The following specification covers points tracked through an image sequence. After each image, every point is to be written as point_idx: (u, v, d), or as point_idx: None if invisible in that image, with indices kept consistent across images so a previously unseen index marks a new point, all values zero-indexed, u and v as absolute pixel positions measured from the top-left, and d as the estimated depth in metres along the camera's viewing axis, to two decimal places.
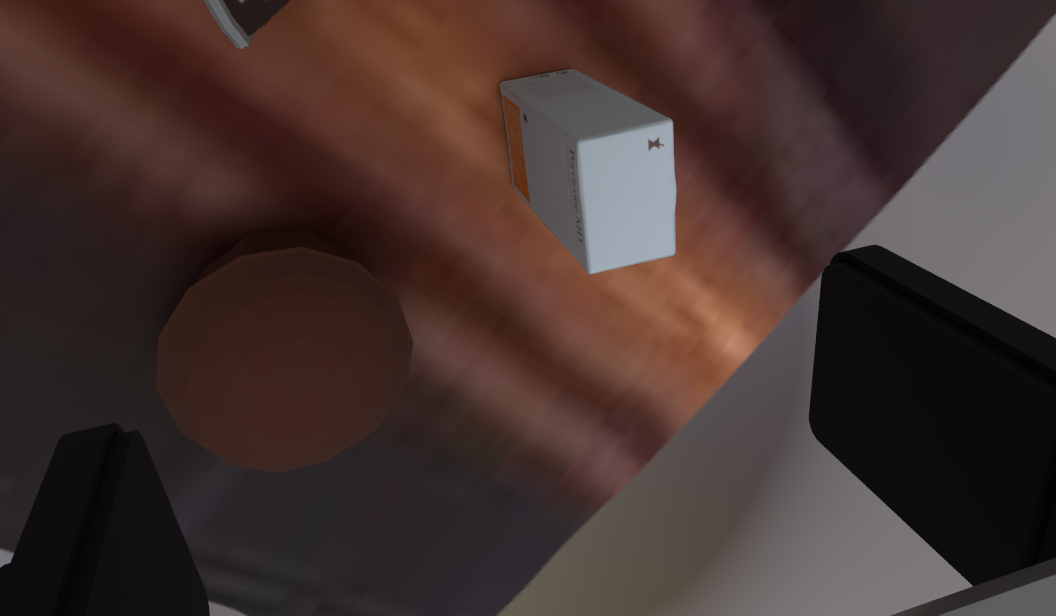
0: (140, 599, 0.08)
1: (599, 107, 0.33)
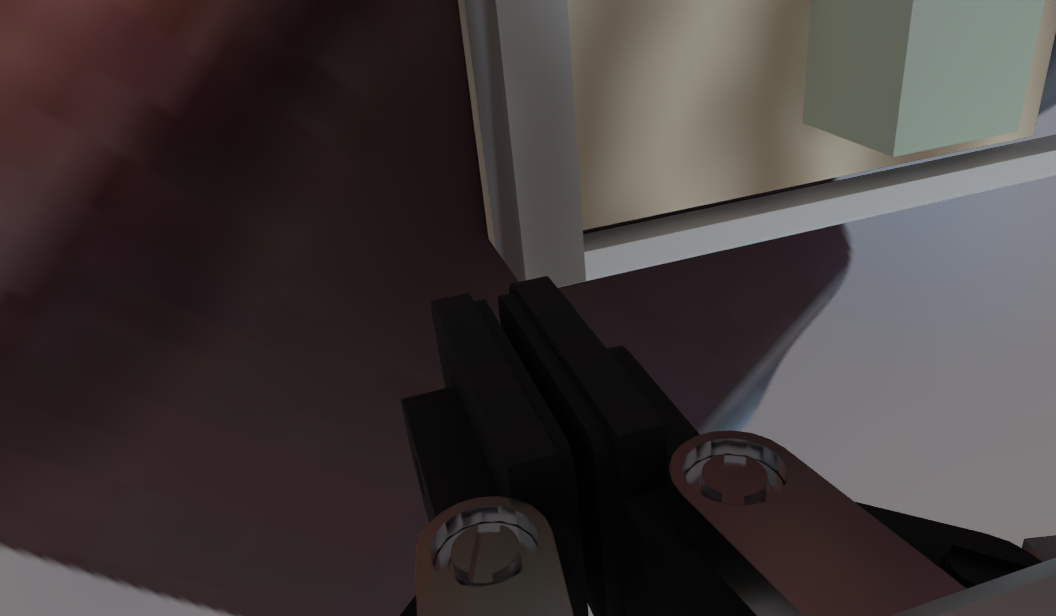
0: None
1: None
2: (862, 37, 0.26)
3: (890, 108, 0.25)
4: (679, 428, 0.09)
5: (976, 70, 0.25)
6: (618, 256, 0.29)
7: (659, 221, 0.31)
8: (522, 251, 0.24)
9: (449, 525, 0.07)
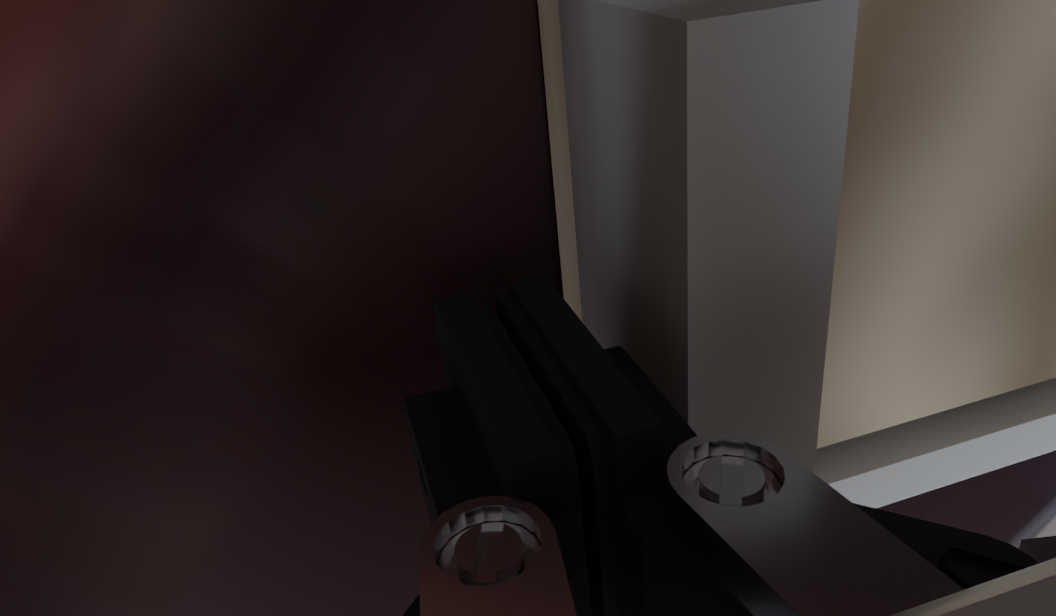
0: None
1: None
2: None
3: None
4: (676, 430, 0.09)
5: None
6: None
7: None
8: None
9: (452, 525, 0.07)
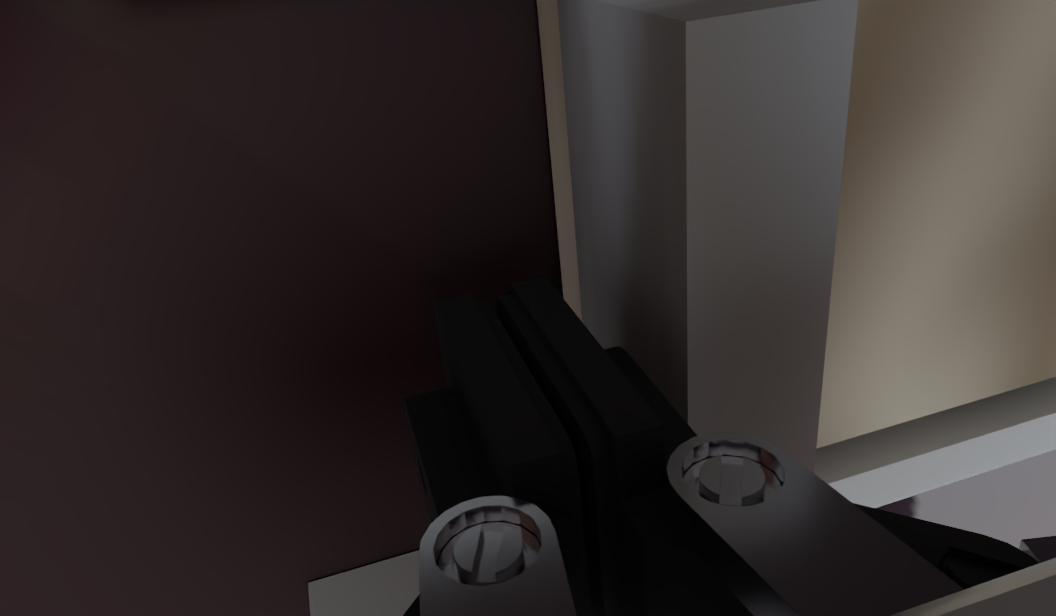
0: None
1: None
2: None
3: None
4: (677, 429, 0.09)
5: None
6: None
7: None
8: None
9: (452, 524, 0.07)
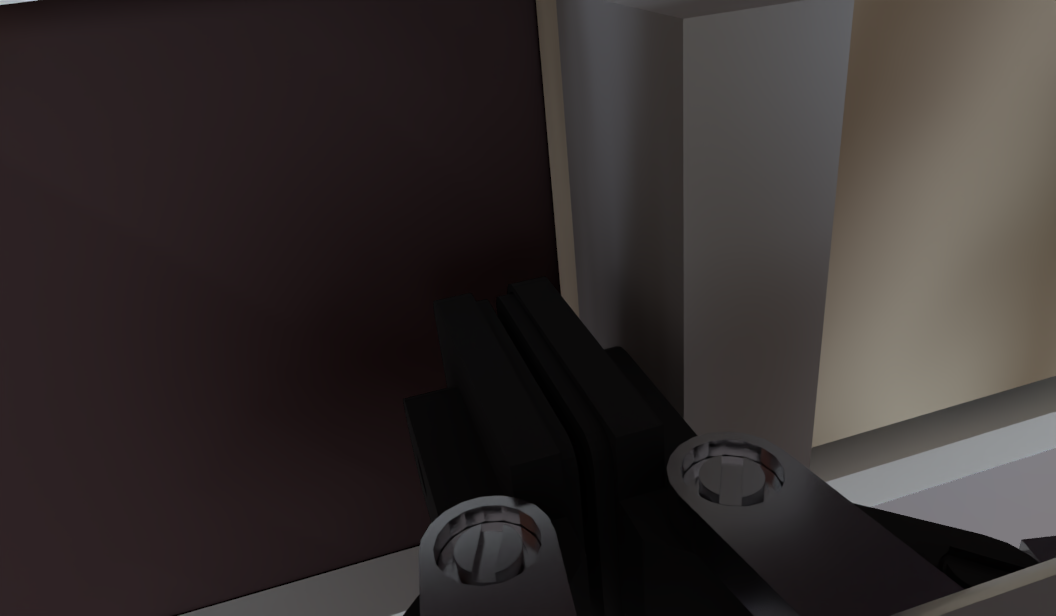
0: None
1: None
2: None
3: None
4: (676, 429, 0.09)
5: None
6: None
7: None
8: None
9: (452, 525, 0.07)
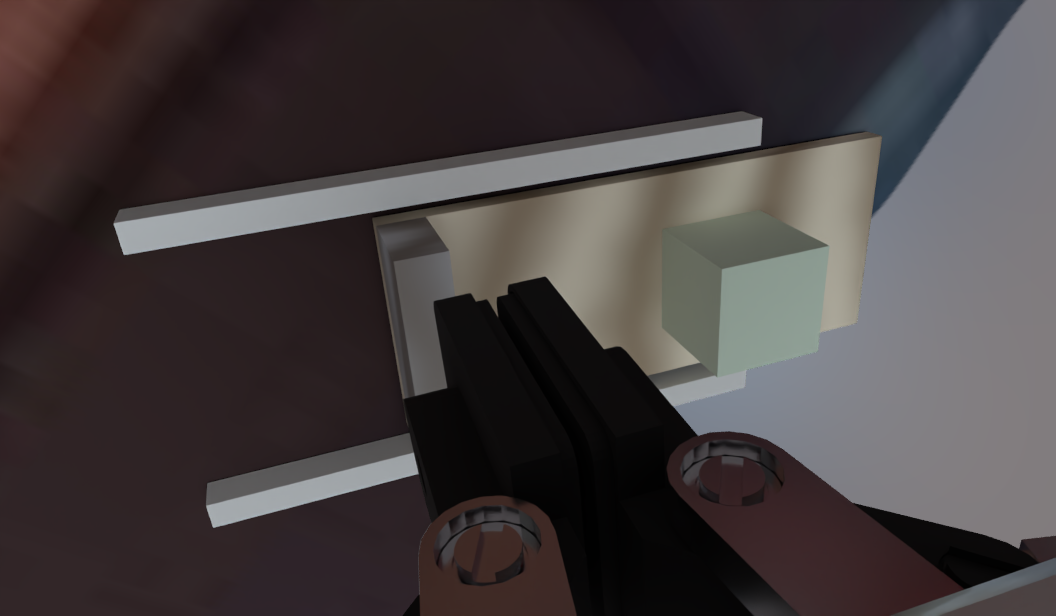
0: None
1: None
2: (694, 283, 0.33)
3: (713, 342, 0.32)
4: (676, 429, 0.09)
5: (778, 314, 0.32)
6: (296, 492, 0.34)
7: (344, 453, 0.35)
8: None
9: (452, 525, 0.07)
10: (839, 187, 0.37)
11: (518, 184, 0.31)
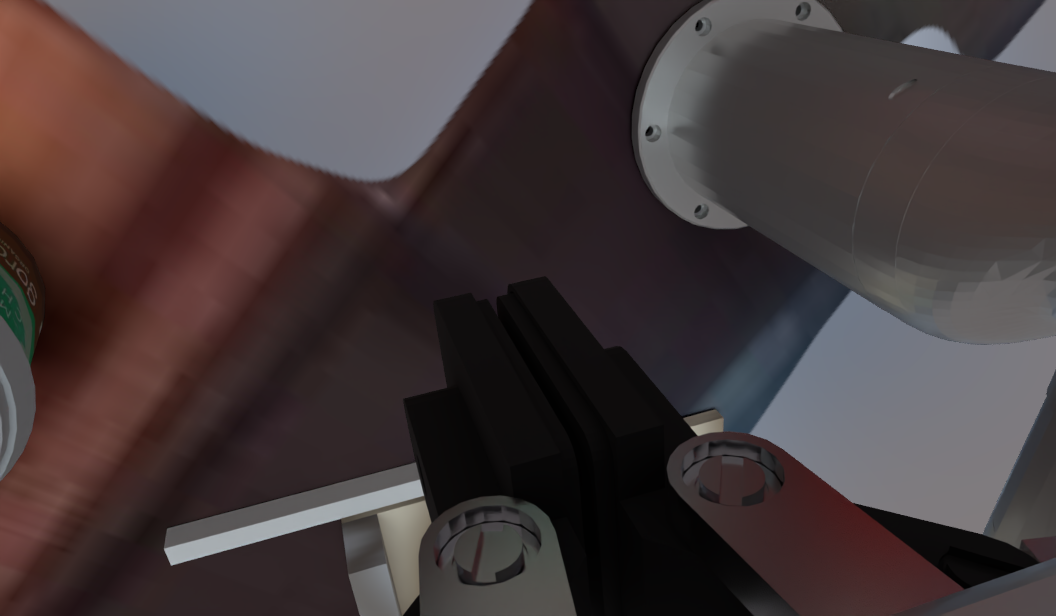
0: None
1: None
2: None
3: None
4: (676, 429, 0.09)
5: None
6: None
7: None
8: None
9: (452, 524, 0.07)
10: None
11: None
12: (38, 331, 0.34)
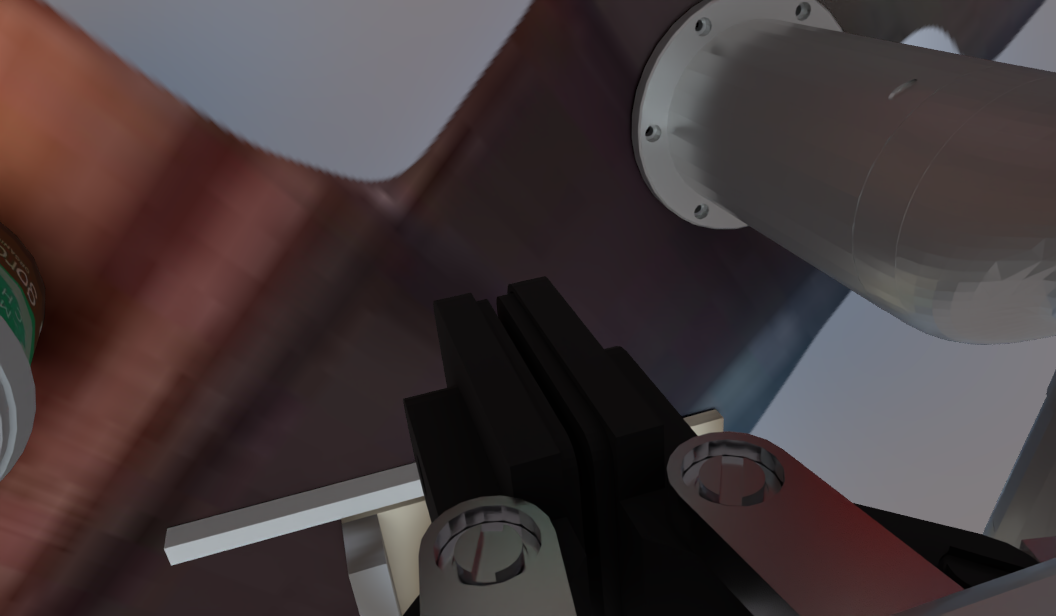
0: None
1: None
2: None
3: None
4: (676, 430, 0.09)
5: None
6: None
7: None
8: None
9: (452, 524, 0.07)
10: None
11: None
12: (38, 331, 0.34)
